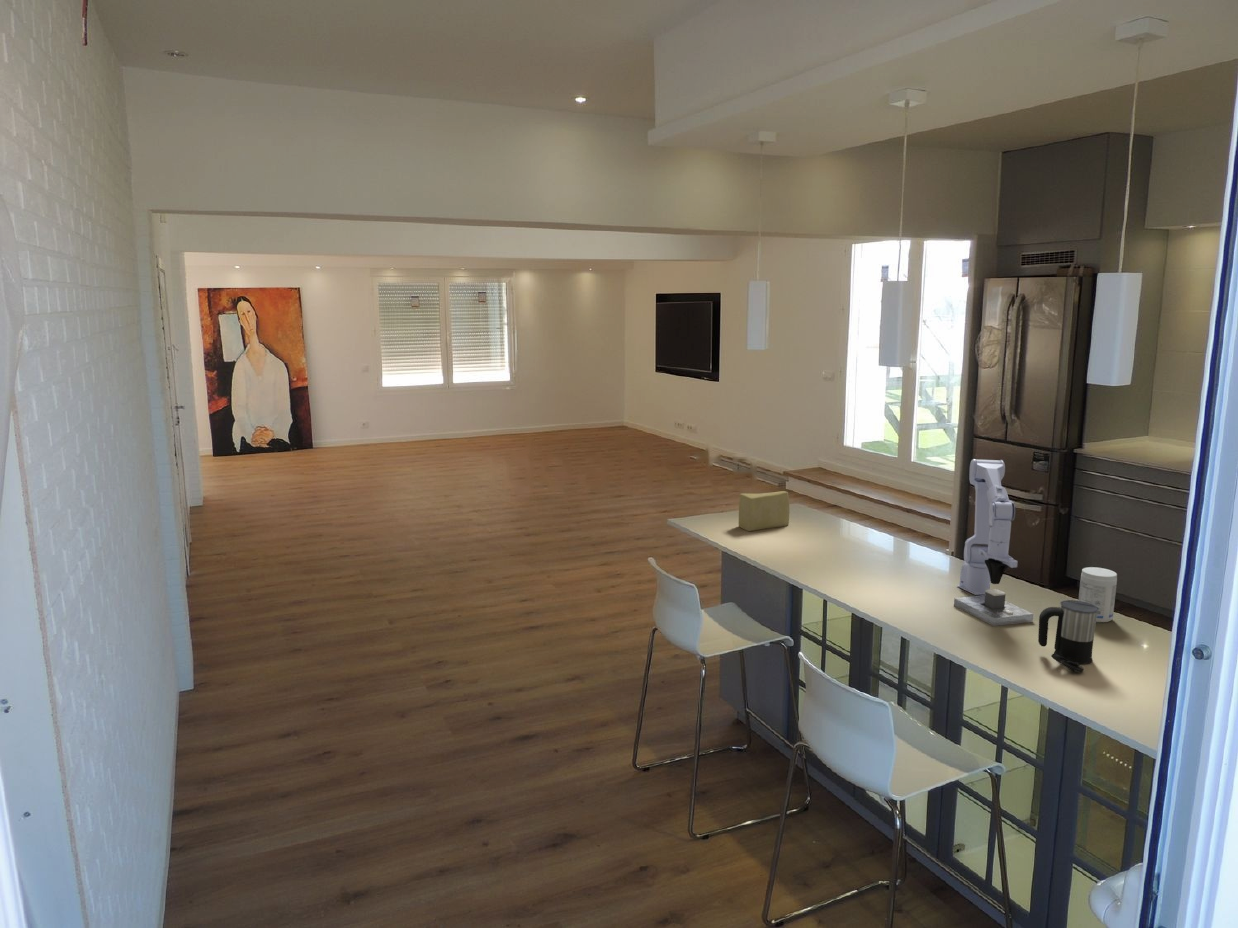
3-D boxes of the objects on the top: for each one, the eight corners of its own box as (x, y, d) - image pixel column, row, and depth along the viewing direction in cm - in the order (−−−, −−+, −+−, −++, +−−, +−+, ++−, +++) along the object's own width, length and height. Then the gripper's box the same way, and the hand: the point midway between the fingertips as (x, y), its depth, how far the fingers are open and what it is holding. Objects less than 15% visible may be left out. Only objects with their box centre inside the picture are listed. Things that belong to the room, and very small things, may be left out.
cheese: (782, 522, 367) (783, 488, 364) (794, 527, 358) (795, 493, 355) (737, 526, 359) (738, 492, 356) (748, 532, 350) (749, 497, 347)
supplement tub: (1095, 610, 261) (1100, 565, 258) (1120, 621, 252) (1125, 575, 249) (1069, 613, 259) (1074, 567, 256) (1093, 624, 250) (1099, 577, 247)
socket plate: (953, 605, 265) (954, 596, 264) (990, 601, 269) (991, 592, 268) (993, 626, 248) (994, 616, 247) (1032, 621, 252) (1033, 611, 251)
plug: (983, 610, 260) (985, 590, 258) (994, 608, 261) (996, 588, 260) (992, 614, 256) (994, 594, 255) (1003, 613, 257) (1005, 593, 256)
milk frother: (1080, 650, 231) (1086, 599, 228) (1115, 675, 215) (1122, 620, 212) (1029, 650, 230) (1035, 599, 227) (1061, 675, 215) (1067, 621, 212)
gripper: (971, 535, 260) (968, 577, 262) (1005, 548, 246) (1000, 592, 249) (990, 533, 262) (987, 575, 264) (1025, 546, 248) (1020, 590, 250)
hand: (995, 583), depth 256 cm, fingers closed
